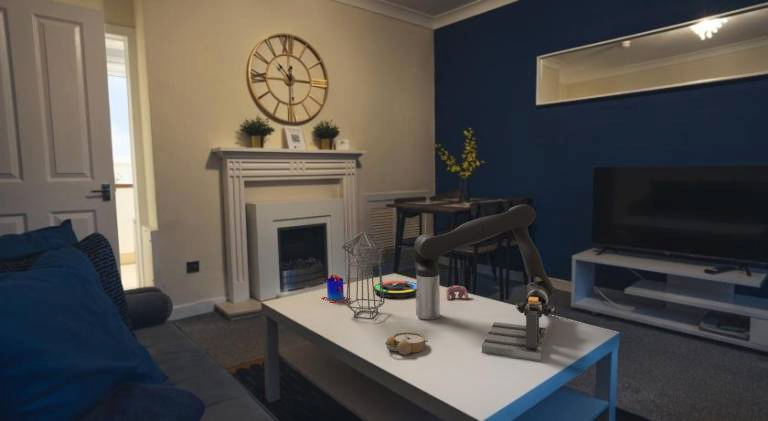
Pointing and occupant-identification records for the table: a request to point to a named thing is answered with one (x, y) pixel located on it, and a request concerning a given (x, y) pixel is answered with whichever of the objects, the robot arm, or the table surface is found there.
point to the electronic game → (397, 289)
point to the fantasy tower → (335, 290)
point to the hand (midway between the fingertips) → (532, 314)
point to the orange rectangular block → (532, 301)
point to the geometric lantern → (353, 243)
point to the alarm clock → (406, 342)
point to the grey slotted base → (517, 338)
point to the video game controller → (453, 289)
